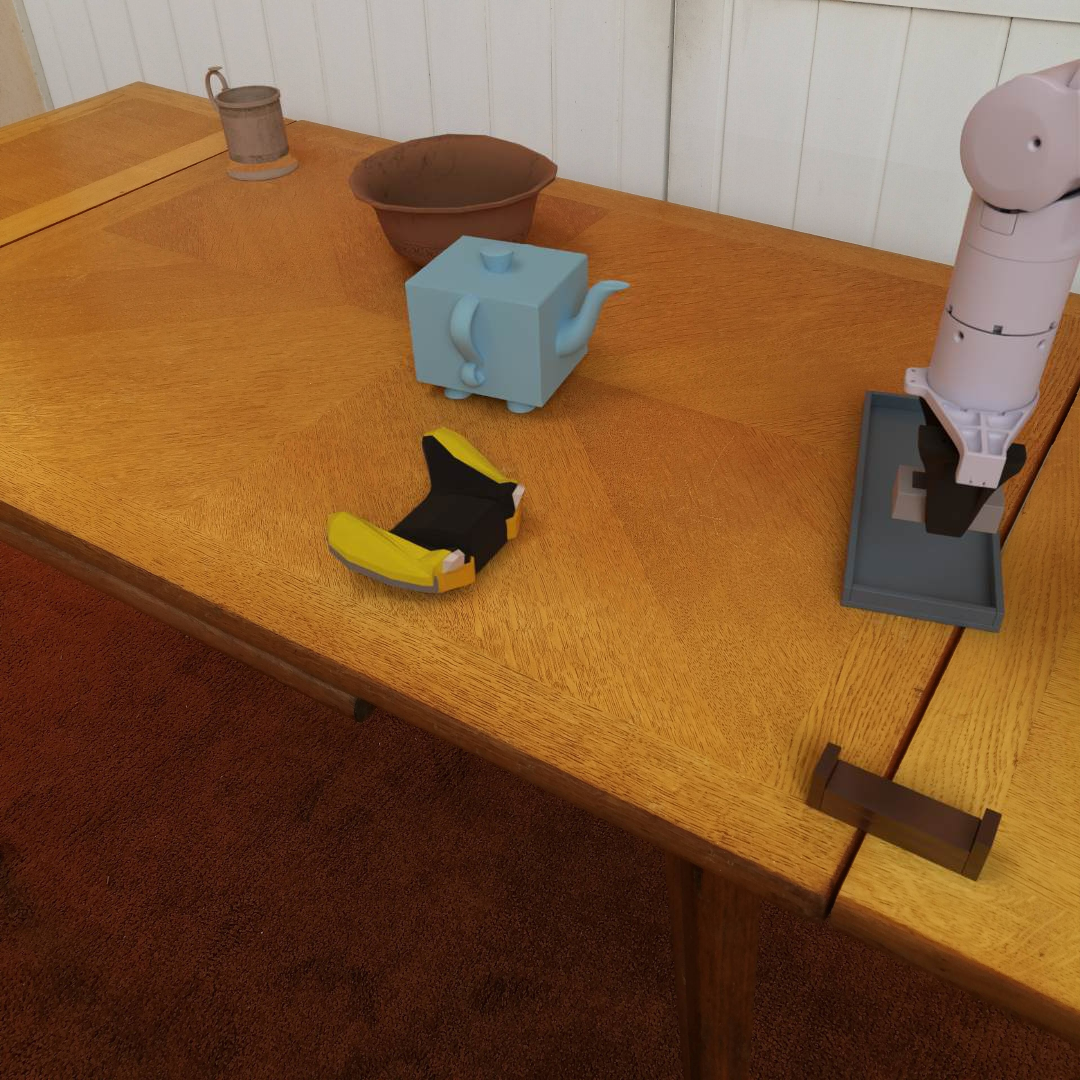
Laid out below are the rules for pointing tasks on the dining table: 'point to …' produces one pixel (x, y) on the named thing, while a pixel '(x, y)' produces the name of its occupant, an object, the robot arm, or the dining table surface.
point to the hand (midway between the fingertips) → (943, 513)
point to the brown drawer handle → (902, 815)
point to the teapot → (503, 319)
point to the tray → (912, 535)
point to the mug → (251, 126)
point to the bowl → (452, 191)
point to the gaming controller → (436, 523)
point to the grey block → (913, 497)
